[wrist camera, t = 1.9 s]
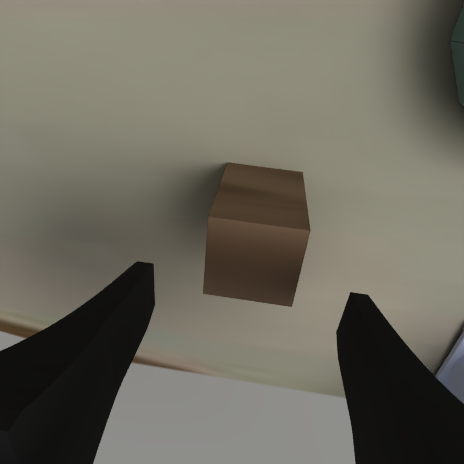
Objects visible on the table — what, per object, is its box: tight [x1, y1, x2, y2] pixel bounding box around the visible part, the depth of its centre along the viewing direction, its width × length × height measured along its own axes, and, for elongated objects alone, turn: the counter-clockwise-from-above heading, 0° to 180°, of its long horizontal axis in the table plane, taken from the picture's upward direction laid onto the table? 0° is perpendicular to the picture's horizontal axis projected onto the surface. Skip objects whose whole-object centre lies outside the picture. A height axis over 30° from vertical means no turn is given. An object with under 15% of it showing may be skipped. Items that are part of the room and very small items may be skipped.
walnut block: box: [203, 163, 310, 307], centre depth 17 cm, size 4×4×6 cm
